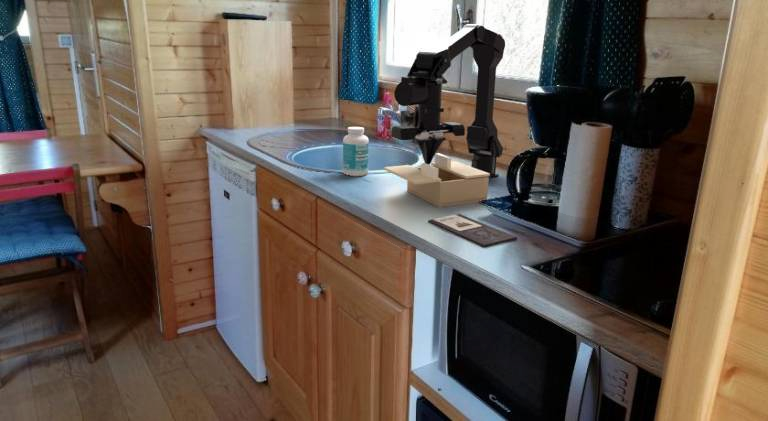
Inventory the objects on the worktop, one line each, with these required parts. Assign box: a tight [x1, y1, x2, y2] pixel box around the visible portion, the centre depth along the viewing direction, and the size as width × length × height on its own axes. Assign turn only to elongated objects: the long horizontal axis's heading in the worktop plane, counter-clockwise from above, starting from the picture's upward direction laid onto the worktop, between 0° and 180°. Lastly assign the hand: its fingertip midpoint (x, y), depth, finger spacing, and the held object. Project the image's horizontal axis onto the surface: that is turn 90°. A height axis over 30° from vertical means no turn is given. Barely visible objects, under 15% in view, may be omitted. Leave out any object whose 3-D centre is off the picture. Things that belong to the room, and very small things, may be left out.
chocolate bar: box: [427, 213, 518, 248], centre depth 123 cm, size 9×1×18 cm
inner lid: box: [430, 152, 490, 179], centre depth 148 cm, size 7×16×3 cm, turn 27°
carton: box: [406, 166, 490, 208], centre depth 147 cm, size 14×16×6 cm
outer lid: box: [383, 162, 441, 184], centre depth 141 cm, size 7×16×3 cm, turn 27°
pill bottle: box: [342, 126, 370, 177], centre depth 167 cm, size 8×7×14 cm
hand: (427, 164), depth 149 cm, fingers closed
